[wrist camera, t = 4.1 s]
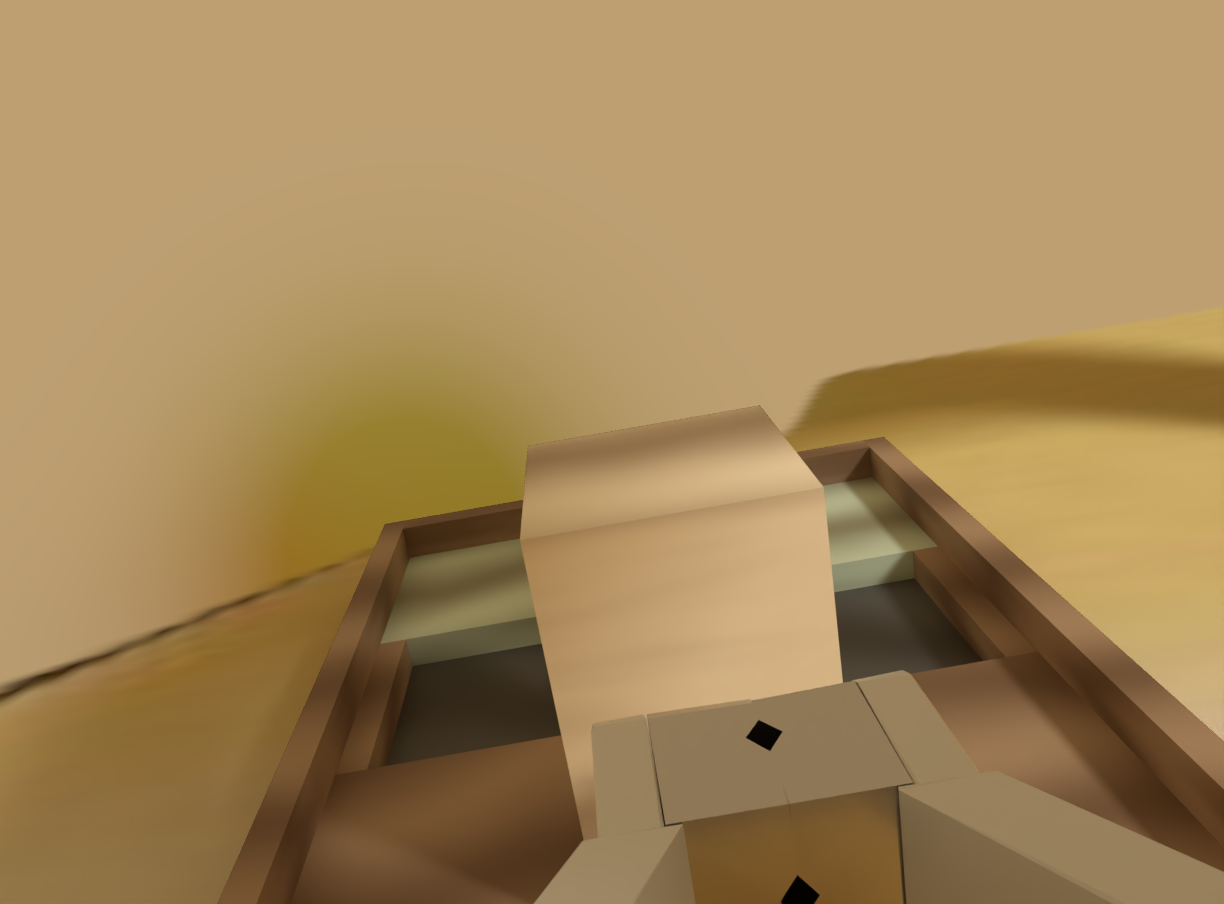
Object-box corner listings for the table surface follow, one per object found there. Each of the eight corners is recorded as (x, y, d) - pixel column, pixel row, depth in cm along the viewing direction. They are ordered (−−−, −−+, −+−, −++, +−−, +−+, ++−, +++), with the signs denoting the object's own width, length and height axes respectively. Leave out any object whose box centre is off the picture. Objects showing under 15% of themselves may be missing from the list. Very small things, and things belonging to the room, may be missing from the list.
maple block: (863, 891, 22) (823, 487, 18) (604, 937, 22) (519, 540, 18) (798, 734, 27) (759, 405, 24) (593, 770, 27) (527, 445, 24)
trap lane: (1391, 1027, 18) (1407, 905, 17) (166, 1245, 18) (115, 1135, 17) (888, 495, 46) (883, 437, 45) (399, 580, 46) (384, 524, 45)
